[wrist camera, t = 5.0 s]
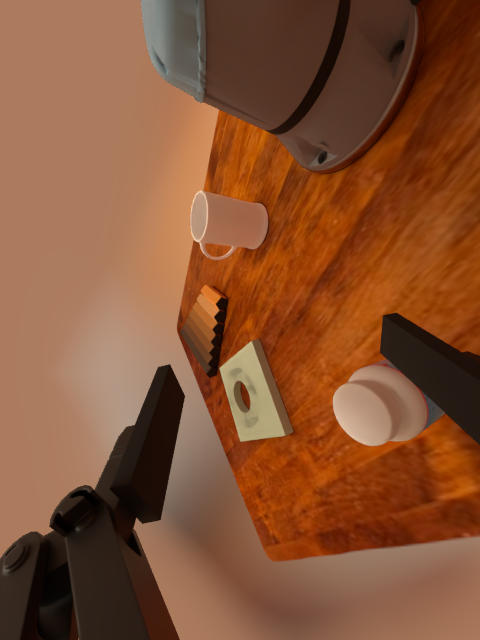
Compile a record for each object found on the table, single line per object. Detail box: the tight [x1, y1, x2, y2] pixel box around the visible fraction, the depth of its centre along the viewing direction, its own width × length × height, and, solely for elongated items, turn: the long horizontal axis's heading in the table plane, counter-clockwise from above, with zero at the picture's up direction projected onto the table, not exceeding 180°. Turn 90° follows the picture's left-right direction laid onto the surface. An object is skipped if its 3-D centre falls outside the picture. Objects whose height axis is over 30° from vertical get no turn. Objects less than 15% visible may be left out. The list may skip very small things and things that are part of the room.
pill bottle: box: [333, 359, 445, 446], centre depth 20 cm, size 6×6×11 cm
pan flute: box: [180, 284, 228, 378], centre depth 69 cm, size 25×3×25 cm
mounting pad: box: [220, 340, 294, 441], centre depth 49 cm, size 18×18×2 cm
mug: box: [190, 191, 268, 260], centre depth 42 cm, size 12×8×12 cm
